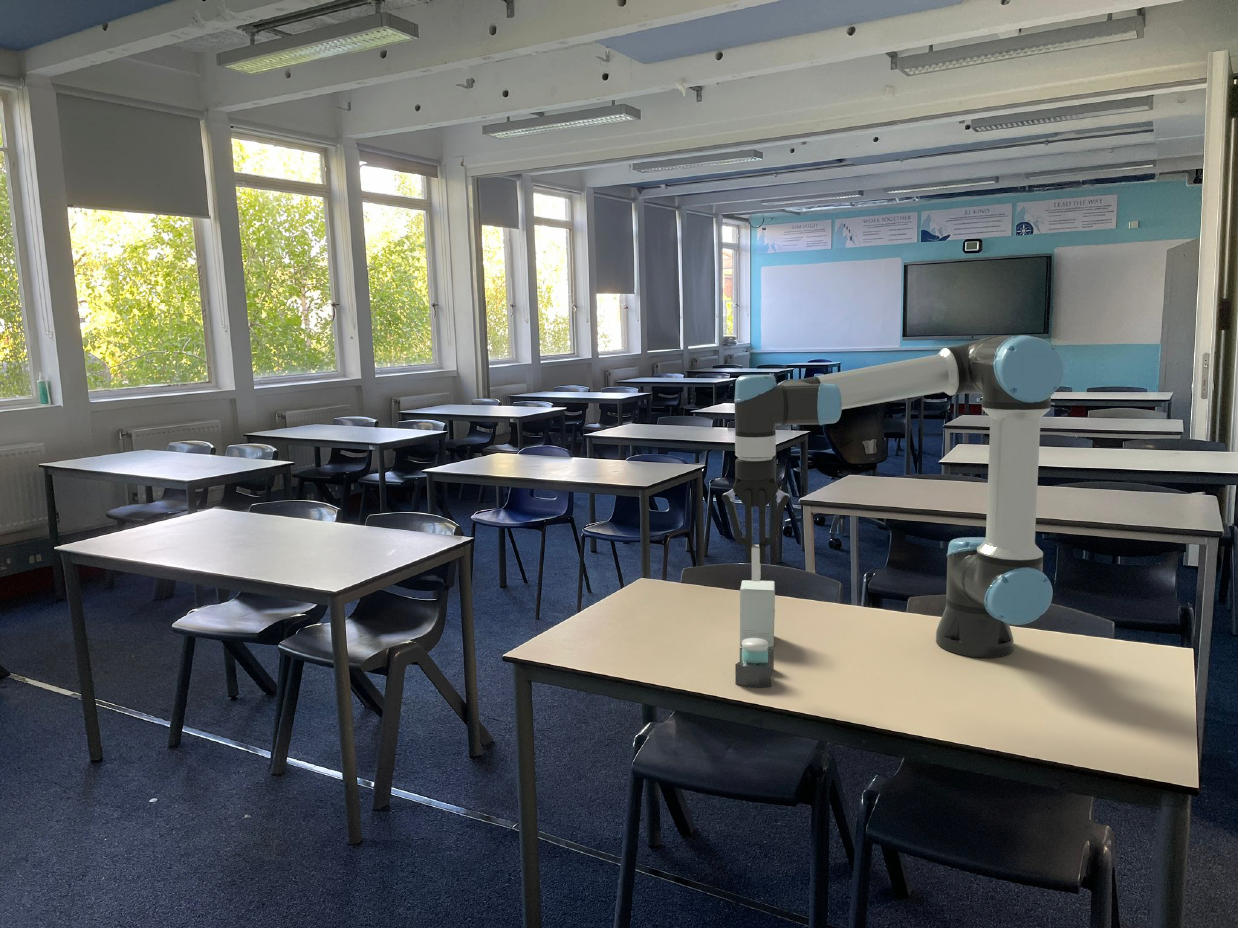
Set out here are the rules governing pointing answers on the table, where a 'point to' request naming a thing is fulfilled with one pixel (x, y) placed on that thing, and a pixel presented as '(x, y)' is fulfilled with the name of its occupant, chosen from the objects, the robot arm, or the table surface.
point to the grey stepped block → (754, 672)
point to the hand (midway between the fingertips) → (756, 579)
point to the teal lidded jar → (755, 650)
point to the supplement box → (757, 610)
